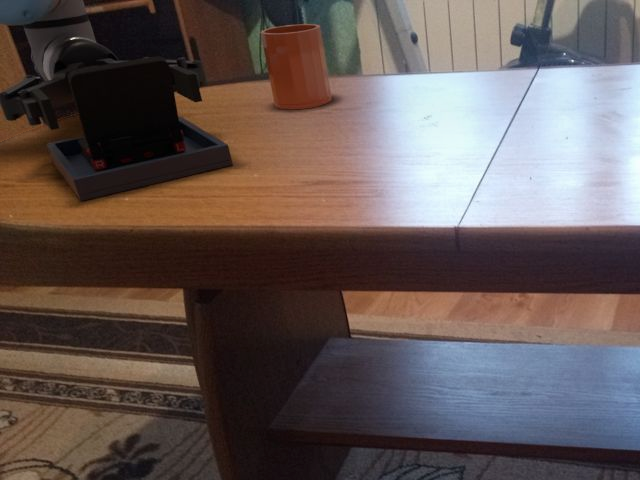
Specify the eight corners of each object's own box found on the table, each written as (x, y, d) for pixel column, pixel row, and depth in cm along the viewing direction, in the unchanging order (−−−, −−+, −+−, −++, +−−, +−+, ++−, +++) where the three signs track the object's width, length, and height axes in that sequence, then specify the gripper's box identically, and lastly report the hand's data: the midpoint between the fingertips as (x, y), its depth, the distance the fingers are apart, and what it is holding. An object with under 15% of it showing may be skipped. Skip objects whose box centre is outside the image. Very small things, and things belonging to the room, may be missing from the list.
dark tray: (52, 162, 80) (45, 143, 79) (185, 134, 86) (181, 116, 85) (81, 201, 68) (73, 179, 67) (233, 165, 74) (228, 144, 73)
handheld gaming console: (167, 135, 84) (141, 42, 79) (197, 158, 75) (170, 55, 70) (79, 153, 80) (46, 56, 75) (101, 180, 71) (64, 72, 66)
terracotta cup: (266, 103, 98) (251, 30, 93) (317, 93, 101) (305, 22, 96) (288, 112, 92) (273, 36, 88) (341, 101, 96) (329, 27, 91)
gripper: (197, 86, 94) (256, 114, 79) (-22, 126, 83) (-2, 168, 67) (181, 23, 90) (240, 40, 75) (-51, 55, 79) (-36, 83, 64)
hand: (126, 100), depth 71 cm, fingers open, 13 cm apart
